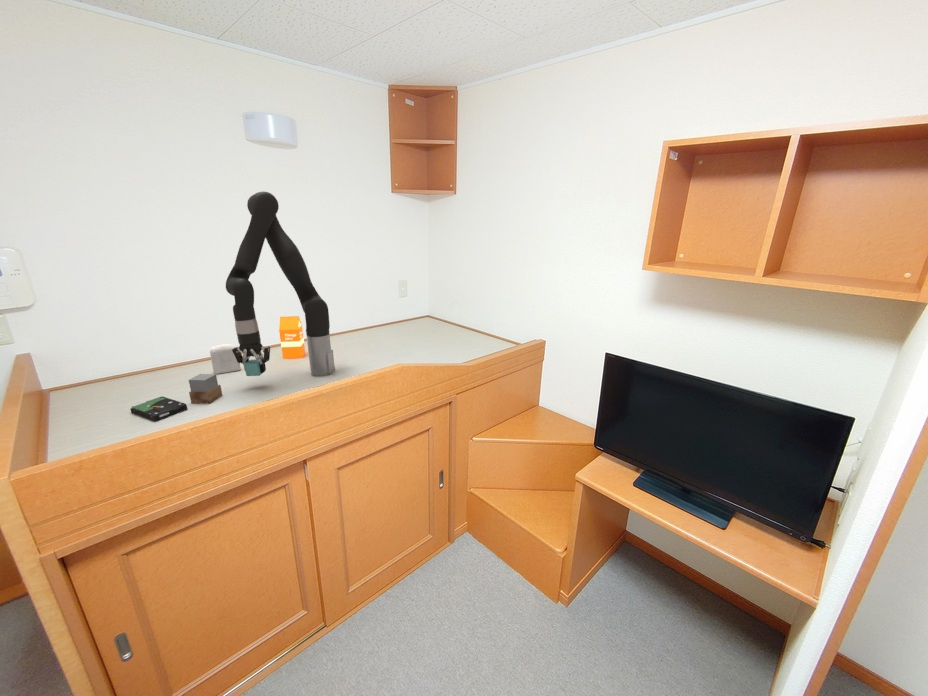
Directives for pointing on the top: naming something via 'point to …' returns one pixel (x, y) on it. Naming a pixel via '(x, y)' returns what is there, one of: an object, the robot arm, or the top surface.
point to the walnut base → (206, 395)
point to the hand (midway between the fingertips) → (255, 372)
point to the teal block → (252, 368)
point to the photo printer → (224, 358)
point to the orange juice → (291, 337)
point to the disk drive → (158, 408)
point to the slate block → (203, 382)
